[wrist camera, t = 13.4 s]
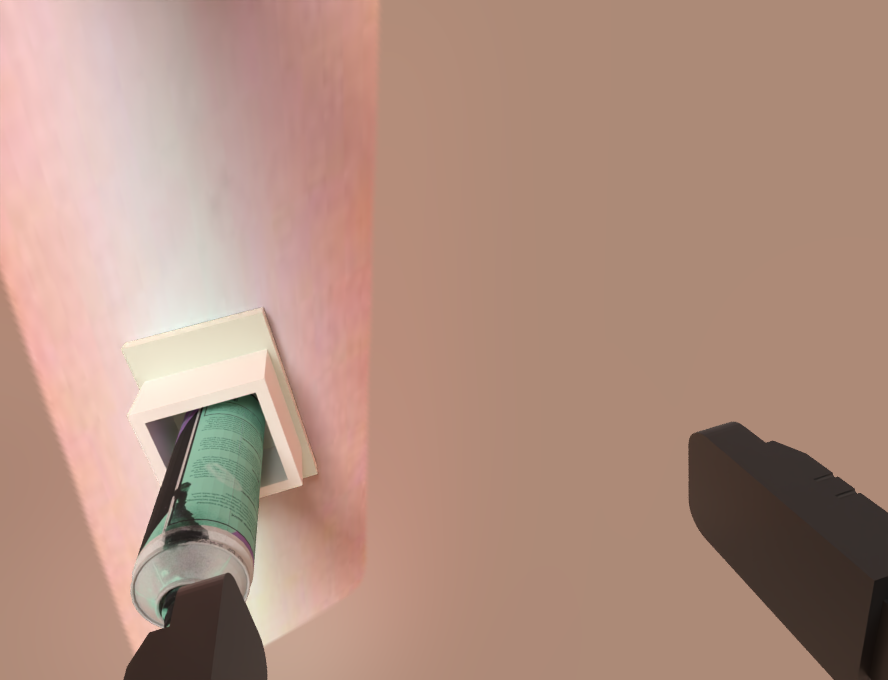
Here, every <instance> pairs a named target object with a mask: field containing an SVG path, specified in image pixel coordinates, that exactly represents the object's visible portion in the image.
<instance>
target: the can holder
mask: <svg viewBox="0 0 888 680" xmlns="http://www.w3.org/2000/svg"><path fill="white" fill-rule="evenodd" d="M121 350H122V353H123V355H124V357H125V359H126V361H127V364H128V366H129V368H130V370H131V372H132V374H133V377H134V379H135V381H136V383H137V385H138V387H139V390H140V391H139V393H138V395H137V397H136V399H135V401H134V403H133V405H132V407H131V409H130V411H129V412H128V414H127V418H128V420H129V422H130V424H131V426H132V428H133V431H134V433H135V435H136V437H137V439H138V441H139V443H140V445H141V447H142V449H143V451H144V453H145V456H146V458H147V460H148V462H149V464H150V466H151V468H152V470H153V472H154V474H155V476H156V479H157V481H158V483H159V485H160V487H161V485H162V482H163V479H164V476H165V473H166V470H167V467H168V464H169V461H170V458H171V455H172V452H173V449H174V446H175V444H176V441H177V438H178V435H179V432H180V429H181V426H182V423H183V420H184V417H185V414H186V412H187V411H191V410H194V409H198V408H202V407H205V406H209V405H212V404H216V403H220V402H223V401H227V400H230V399H234V398H238V397H241V396H245V395H248V394H252V393H256V395H257V397H258V400H259V403H260V405H261V408H262V411H263V413H264V416H265V431H264V444H263V457H262V469H261V482H260V495H259V498H262V497H266V496H269V495H272V494H276V493H279V492H282V491H286V490H289V489H292V488H296V487H299V486H302V485H303V478H306V477H310V476H313V475H316V474H318V470H317V464H316V461H315V458H314V455H313V452H312V449H311V446H310V443H309V440H308V437H307V434H306V431H305V429H304V426H303V423H302V420H301V417H300V414H299V411H298V408H297V405H296V402H295V399H294V396H293V393H292V391H291V388H290V385H289V382H288V379H287V376H286V373H285V370H284V367H283V364H282V361H281V358H280V355H279V353H278V350H277V347H276V344H275V341H274V338H273V335H272V332H271V329H270V326H269V323H268V320H267V318H266V315H265V312H264V309H263V307H261V308H257V309H253V310H250V311H246V312H242V313H238V314H234V315H230V316H227V317H223V318H219V319H215V320H211V321H207V322H203V323H200V324H196V325H192V326H188V327H184V328H180V329H177V330H173V331H169V332H165V333H161V334H157V335H154V336H150V337H146V338H142V339H138V340H134V341H130V342H127V343H125V344H124V346H123V347H122V349H121Z"/></svg>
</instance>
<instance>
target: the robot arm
mask: <svg viewBox="0 0 888 680" xmlns="http://www.w3.org/2000/svg"><path fill="white" fill-rule="evenodd" d="M689 506H690V510H691V514H692V517H693V519H694V521H695V523H696V525H697V527H698V529H699V531H700V532H701V533H702V535H703V536H704V537H705V538H706V540H707V541H708V542H709V543H710V544H711V545H712V546H713V547H714V548H715V550H716V551H717V552H718V553H719V554H720V555H721V556H722V557H723V558H724V559H725V560H726V562H727V563H728V564H729V565H730V566H731V567H732V568H733V569H734V570H735V572H736V573H737V574H738V575H739V576H740V577H741V578H742V579H743V580H744V581H745V583H746V584H747V585H748V586H749V587H750V588H751V589H752V590H753V591H754V592H755V593H756V595H757V596H758V597H759V598H760V599H761V600H762V601H763V602H764V603H765V604H766V606H767V607H768V608H769V609H770V610H771V611H772V612H773V613H774V614H775V615H776V617H777V618H778V619H779V620H780V621H781V622H782V623H783V624H784V625H785V626H786V628H787V629H788V630H789V631H790V632H791V633H792V634H793V635H794V636H795V637H796V639H797V640H798V641H799V642H800V643H801V644H802V645H803V646H804V647H805V648H806V650H807V651H808V652H809V653H810V654H811V655H812V656H813V657H814V658H815V659H816V660H817V661H818V663H819V664H820V665H821V666H822V667H823V668H824V669H825V670H826V671H827V673H828V674H829V675H830V676H831V677H832V678H833V679H834V680H888V513H887V512H886V511H885V510H883V509H882V508H881V507H879V506H878V505H877V504H875V503H874V502H872V501H871V500H870V499H868V498H867V497H865V496H864V495H863V494H861V493H858V494H857V493H856V492H855V489H854V488H853V487H852V486H850V485H849V484H847V483H846V482H845V481H843V480H842V479H840V478H839V477H834V476H833V473H832V472H831V471H829V470H828V469H827V468H825V467H824V466H822V465H821V464H820V463H818V462H817V461H816V460H814V459H813V458H811V457H810V456H809V455H807V454H806V453H803V452H801V451H798V450H795V449H793V448H791V447H788V446H785V445H783V444H780V443H778V442H775V441H770V442H767V443H765V442H764V441H763V440H761V439H760V438H759V437H757V436H756V435H755V434H753V433H752V432H751V431H749V430H748V429H747V428H746V427H744V426H743V425H741V424H740V423H737V422H729V423H726V424H722V425H719V426H716V427H712V428H709V429H706V430H703V431H699V432H696V433H694V434H692V435H691V436H690V439H689ZM124 680H267V665H266V658H265V652H264V648H263V644H262V641H261V638H260V635H259V633H258V630H257V628H256V626H255V624H254V621H253V619H252V617H251V615H250V612H249V610H248V608H247V605H246V603H245V601H244V599H243V596H242V594H241V592H240V589H239V587H238V585H237V583H236V580H235V578H234V577H233V575H232V574H231V573H225V574H221V575H218V576H215V577H211V578H208V579H205V580H201V581H198V582H195V583H191V584H188V585H185V586H182V587H180V588H179V589H178V591H177V594H176V598H175V603H174V607H173V612H172V617H171V621H170V626H169V627H166V628H162V629H159V630H156V631H153V632H150V633H149V634H148V635H147V637H146V638H145V640H144V642H143V643H142V645H141V646H140V648H139V649H138V651H137V652H136V654H135V655H134V657H133V658H132V660H131V662H130V663H129V665H128V666H127V669H126V673H125V676H124Z"/></svg>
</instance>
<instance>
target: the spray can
mask: <svg viewBox="0 0 888 680" xmlns="http://www.w3.org/2000/svg"><path fill="white" fill-rule="evenodd" d="M264 431H265V416H264V413H263V411H262V408H261V405H260V403H259V400H258V397H257V395H256V393H252V394H248V395H245V396H241V397H238V398H234V399H230V400H227V401H223V402H220V403H216V404H212V405H209V406H205V407H202V408H198V409H194V410H191V411H187V412H186V414H185V417H184V420H183V423H182V426H181V429H180V432H179V435H178V438H177V441H176V444H175V446H174V449H173V452H172V455H171V458H170V461H169V464H168V467H167V470H166V473H165V476H164V479H163V482H162V485H161V488H160V491H159V494H158V497H157V500H156V503H155V506H154V509H153V512H152V515H151V518H150V521H149V524H148V527H147V530H146V533H145V536H144V539H143V542H142V545H141V548H140V551H139V554H138V557H137V559H136V562H135V566H134V569H133V572H132V583H131V598H132V602H133V604H134V606H135V608H136V610H137V611H138V612H139V613H140V614H141V616H142V617H143V618H145V619H146V620H147V621H149V622H150V623H152V624H154V625H156V626H158V627H160V628H166V627H169V626H170V621H171V617H172V612H173V607H174V603H175V598H176V594H177V591H178V589H179V588H180V587H182V586H185V585H188V584H191V583H195V582H198V581H201V580H205V579H208V578H211V577H215V576H218V575H221V574H225V573H231V574H232V575H233V577H234V578H235V580H236V583H237V585H238V587H239V589H240V592H241V594H242V596H243V599H244V601H245V602H246V599H247V597H248V594H249V590H250V586H251V583H252V580H253V571H254V559H255V546H256V533H257V520H258V508H259V495H260V482H261V469H262V457H263V444H264Z"/></svg>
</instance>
